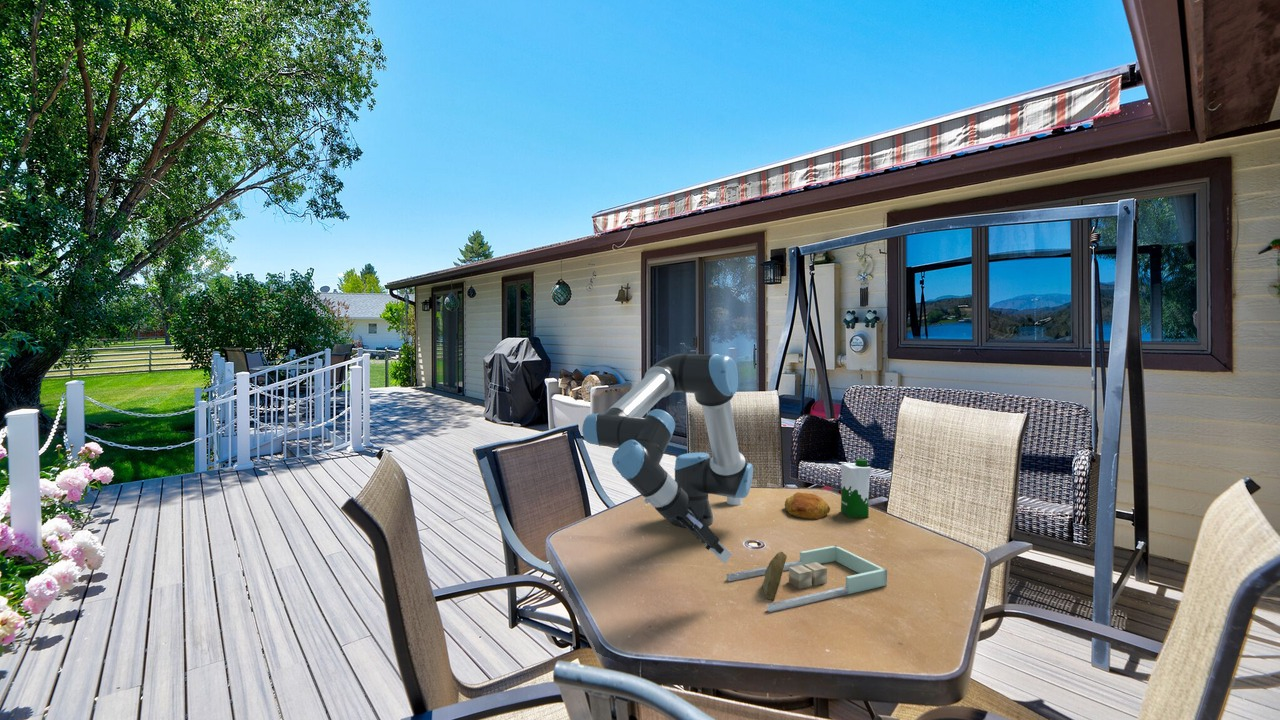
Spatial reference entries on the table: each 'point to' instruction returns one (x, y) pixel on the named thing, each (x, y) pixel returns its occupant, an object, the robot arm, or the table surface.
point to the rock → (774, 575)
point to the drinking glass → (734, 501)
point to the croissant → (806, 506)
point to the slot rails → (793, 601)
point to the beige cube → (817, 573)
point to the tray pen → (868, 571)
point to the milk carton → (855, 489)
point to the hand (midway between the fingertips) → (726, 558)
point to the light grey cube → (800, 576)
